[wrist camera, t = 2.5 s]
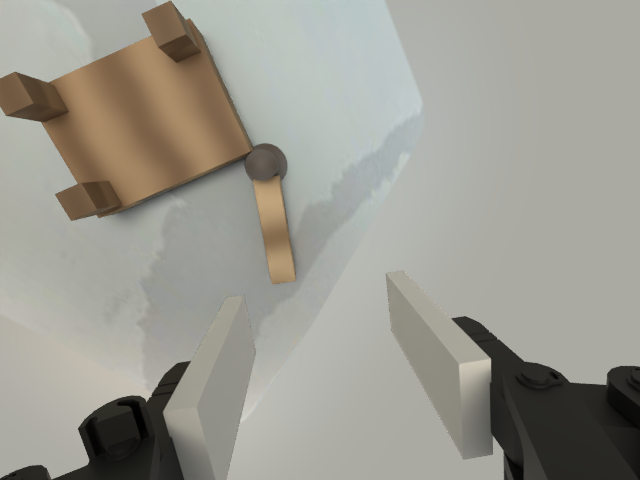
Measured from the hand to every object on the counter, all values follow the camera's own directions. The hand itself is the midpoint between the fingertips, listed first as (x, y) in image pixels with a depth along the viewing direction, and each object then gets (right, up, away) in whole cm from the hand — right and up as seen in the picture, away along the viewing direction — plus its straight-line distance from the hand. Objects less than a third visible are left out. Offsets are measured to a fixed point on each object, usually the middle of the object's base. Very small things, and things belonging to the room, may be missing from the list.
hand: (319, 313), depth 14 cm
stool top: (-15, +13, +20) cm, 28 cm away
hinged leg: (-5, +6, +21) cm, 23 cm away
